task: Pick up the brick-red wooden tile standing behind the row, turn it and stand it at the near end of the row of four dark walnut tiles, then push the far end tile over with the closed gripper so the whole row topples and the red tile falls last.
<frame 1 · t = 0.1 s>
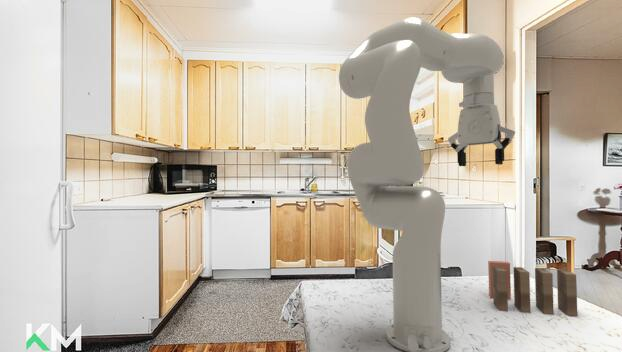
hand: (480, 165, 91), 37 cm above the table, tool pointing down, fingers open, 9 cm apart
tile 2: (544, 310, 84), on the table
red tile: (499, 297, 94), on the table
tile 1: (567, 312, 83), on the table
tile 3: (522, 309, 85), on the table
tile 4: (500, 307, 86), on the table
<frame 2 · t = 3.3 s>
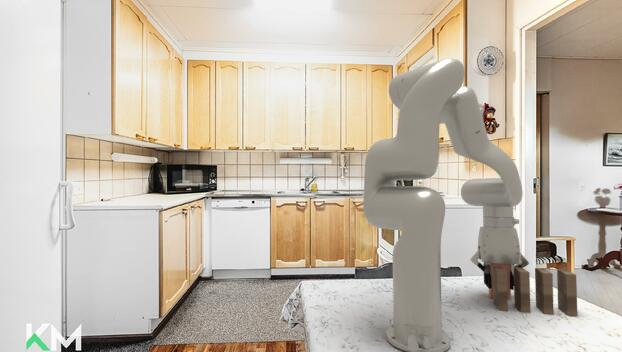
hand: (499, 287, 94), 3 cm above the table, tool pointing down, fingers closed on red tile, 4 cm apart
red tile: (499, 297, 94), on the table, touching gripper
everything else where it was.
when the fingers open (4 cm above the table, at t = 8.7 s): red tile stays where it is, on the table.
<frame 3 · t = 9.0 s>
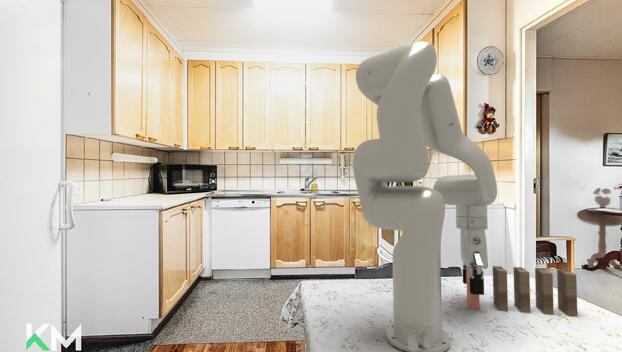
hand: (472, 288, 88), 4 cm above the table, tool pointing down, fingers open, 8 cm apart
red tile: (473, 305, 88), on the table
everything else where it was.
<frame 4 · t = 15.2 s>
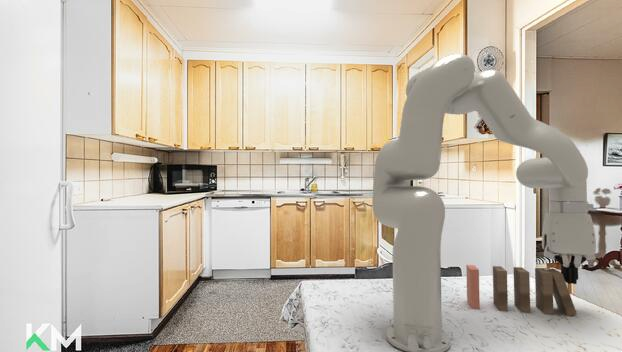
hand: (569, 282, 83), 7 cm above the table, tool pointing down, fingers closed
tile 1: (567, 311, 83), on the table, tilted 17°
everything else where it was.
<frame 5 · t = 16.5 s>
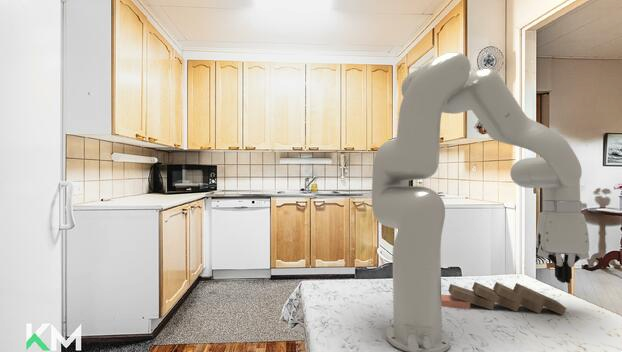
hand: (563, 281, 83), 8 cm above the table, tool pointing down, fingers closed
tile 2: (537, 306, 84), point 1 cm above the table, tilted 66°, touching tile 1, tile 3
red tile: (468, 303, 88), on the table, tilted 90°, touching tile 4
tile 1: (559, 307, 83), point 1 cm above the table, tilted 66°, touching tile 2
tile 3: (515, 304, 86), point 1 cm above the table, tilted 69°, touching tile 2
tile 4: (490, 302, 87), point 1 cm above the table, tilted 74°, touching red tile
everything else where it was.
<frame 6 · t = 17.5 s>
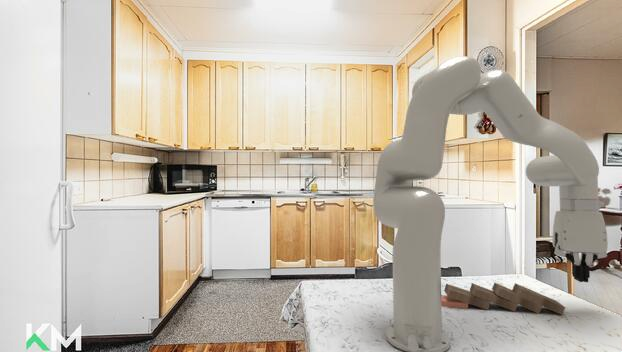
hand: (581, 280, 82), 8 cm above the table, tool pointing down, fingers closed
red tile: (466, 303, 88), on the table, tilted 90°
tile 3: (513, 304, 86), point 1 cm above the table, tilted 71°, touching tile 2, tile 4
tile 4: (486, 302, 87), point 1 cm above the table, tilted 74°, touching tile 3
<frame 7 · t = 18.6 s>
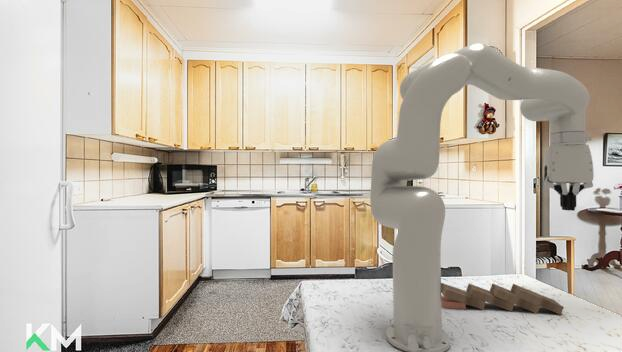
hand: (568, 210, 88), 25 cm above the table, tool pointing down, fingers closed
tile 3: (509, 304, 86), point 1 cm above the table, tilted 72°, touching tile 2
tile 4: (480, 302, 87), point 1 cm above the table, tilted 72°
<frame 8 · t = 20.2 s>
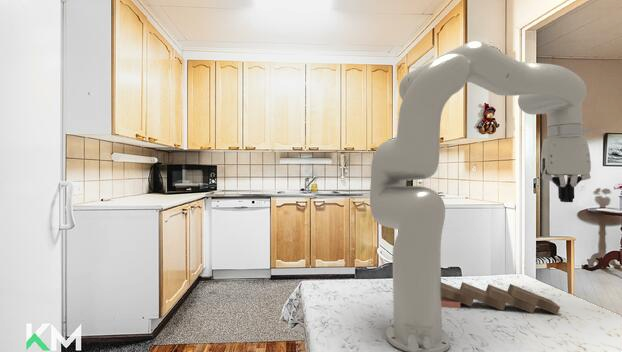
hand: (566, 201, 88), 27 cm above the table, tool pointing down, fingers closed
red tile: (458, 303, 89), on the table, tilted 90°
tile 3: (502, 303, 86), point 1 cm above the table, tilted 71°, touching tile 2, tile 4
tile 4: (470, 299, 88), point 1 cm above the table, tilted 71°, touching tile 3
at the end: red tile tilted 90°; red tile inside the target area (1.6 cm from its centre), on the table; tile 1 tilted 69° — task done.
